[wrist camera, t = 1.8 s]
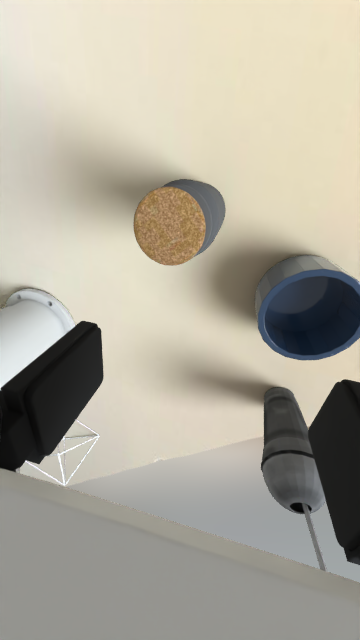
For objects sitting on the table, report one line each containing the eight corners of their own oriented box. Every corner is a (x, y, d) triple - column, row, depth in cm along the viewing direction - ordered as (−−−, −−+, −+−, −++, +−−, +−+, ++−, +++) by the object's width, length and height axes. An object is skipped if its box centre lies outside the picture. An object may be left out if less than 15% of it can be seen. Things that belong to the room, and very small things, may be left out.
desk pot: (245, 324, 34) (247, 348, 28) (268, 247, 28) (275, 260, 23) (325, 341, 32) (341, 369, 27) (364, 263, 27) (394, 281, 22)
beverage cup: (270, 373, 36) (298, 536, 19) (314, 392, 36) (382, 574, 19) (247, 402, 40) (253, 561, 23) (287, 420, 40) (323, 593, 23)
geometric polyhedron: (83, 450, 58) (59, 490, 50) (44, 425, 57) (13, 463, 49) (106, 429, 52) (83, 471, 44) (64, 400, 51) (32, 439, 43)
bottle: (218, 174, 26) (199, 158, 13) (230, 229, 28) (224, 261, 15) (169, 193, 28) (109, 195, 15) (184, 243, 30) (144, 283, 17)
